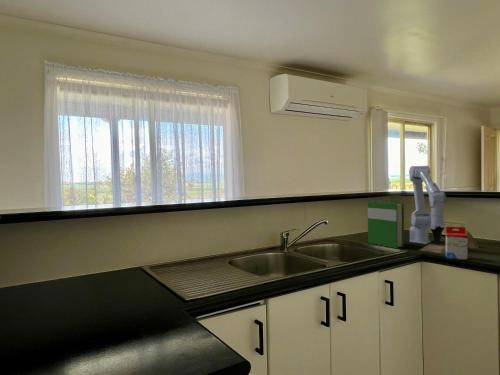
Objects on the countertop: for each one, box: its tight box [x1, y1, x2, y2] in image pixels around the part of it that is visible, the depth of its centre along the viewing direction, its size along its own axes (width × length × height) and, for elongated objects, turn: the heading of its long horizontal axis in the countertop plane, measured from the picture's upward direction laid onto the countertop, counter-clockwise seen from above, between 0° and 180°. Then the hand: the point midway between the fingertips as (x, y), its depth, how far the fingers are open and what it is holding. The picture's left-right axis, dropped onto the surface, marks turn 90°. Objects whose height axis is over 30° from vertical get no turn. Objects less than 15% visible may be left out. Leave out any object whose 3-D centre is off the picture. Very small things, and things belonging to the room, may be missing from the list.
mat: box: [418, 246, 446, 254], centre depth 185 cm, size 13×12×1 cm
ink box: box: [445, 226, 468, 260], centre depth 167 cm, size 8×5×15 cm, turn 68°
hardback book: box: [367, 201, 405, 249], centre depth 198 cm, size 18×7×24 cm, turn 37°
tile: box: [423, 244, 446, 253], centre depth 184 cm, size 8×2×8 cm
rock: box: [465, 229, 479, 249], centre depth 189 cm, size 11×9×10 cm
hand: (437, 241), depth 186 cm, fingers closed
